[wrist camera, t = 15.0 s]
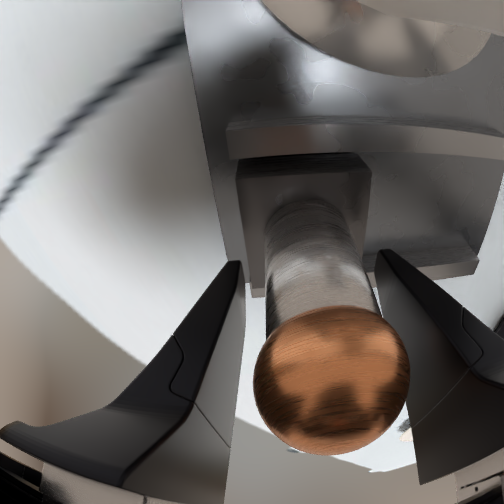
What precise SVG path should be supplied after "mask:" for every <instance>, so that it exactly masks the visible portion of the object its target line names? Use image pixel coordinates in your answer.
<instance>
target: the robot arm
mask: <svg viewBox="0 0 504 504" xmlns="http://www.w3.org/2000/svg"><path fill="white" fill-rule="evenodd" d="M374 276H375V280H376V285H377V290H378V295H379V300H380V305H381V310H382V314H383V318H384V319H385V320H386V321H387V322H388V323H390V325H391V326H392V327H393V328H394V329H395V330H396V332H397V333H398V335H399V336H400V338H401V340H402V341H403V343H404V346H405V348H406V351H407V354H408V358H409V362H410V387H409V391H408V395H407V398H406V406H407V410H408V415H409V420H410V425H411V428H412V429H411V431H412V437H413V443H414V449H415V455H416V461H417V468H418V476H419V482H420V485H423V484H426V483H428V482H431V481H434V480H437V479H439V478H442V477H445V476H447V475H450V474H452V473H454V475H455V482H456V488H457V501H458V503H456V504H504V319H503V320H502V322H501V323H500V325H499V326H498V328H497V329H496V331H495V332H494V331H492V330H491V329H490V328H489V327H487V326H486V325H485V324H483V323H482V322H481V321H480V320H479V319H477V318H476V317H475V316H474V315H473V314H472V313H470V312H469V311H468V310H467V309H466V308H465V307H463V306H462V305H461V304H460V303H459V302H458V301H456V300H455V299H454V298H453V297H452V296H450V295H449V294H448V293H447V292H446V291H444V290H443V289H442V288H441V287H439V286H438V285H437V284H436V283H435V282H433V281H432V280H431V279H430V278H428V277H427V276H426V275H424V274H423V273H422V272H421V271H419V270H418V269H417V268H416V267H414V266H413V265H412V264H410V263H409V262H408V261H406V260H405V259H404V258H402V257H401V256H400V255H398V254H397V253H396V252H394V251H393V250H392V249H380V250H378V252H377V257H376V262H375V267H374ZM245 327H246V305H245V278H244V272H243V266H242V262H241V261H240V260H231V261H228V262H227V263H226V264H225V265H224V267H223V268H222V269H221V271H220V272H219V273H218V275H217V276H216V277H215V279H214V280H213V281H212V282H211V284H210V285H209V286H208V288H207V289H206V290H205V292H204V293H203V294H202V296H201V297H200V298H199V300H198V301H197V302H196V304H195V305H194V306H193V308H192V309H191V310H190V312H189V313H188V314H187V316H186V317H185V318H184V320H183V321H182V322H181V324H180V325H179V326H178V328H177V329H176V330H175V332H174V333H173V335H171V337H170V338H169V339H168V341H167V342H166V343H165V345H164V346H163V347H162V348H161V350H160V351H159V352H158V354H157V355H156V356H155V357H154V358H153V359H152V361H151V362H150V363H149V364H148V365H147V366H146V367H145V368H144V370H143V371H142V372H141V373H140V374H139V375H138V376H137V377H136V378H135V379H134V380H133V381H132V382H131V383H130V385H129V386H128V387H127V388H126V389H125V390H124V391H123V392H122V393H121V394H120V395H119V396H118V397H117V398H116V399H115V400H114V401H112V402H111V403H110V404H108V405H107V406H105V407H103V408H101V409H98V410H95V411H92V412H90V413H87V414H84V415H80V416H78V417H74V418H71V419H68V420H65V421H62V422H59V423H55V424H52V425H48V426H42V427H33V426H29V425H27V424H25V423H23V422H20V421H15V422H12V423H10V424H8V425H6V426H4V427H3V428H2V429H1V430H0V438H1V439H3V440H4V441H6V442H7V443H9V444H11V445H12V446H14V447H16V448H18V449H20V450H21V451H23V452H25V453H27V454H29V455H31V456H33V457H35V458H37V459H39V460H41V461H43V462H44V466H43V471H42V472H40V471H38V470H36V469H34V468H31V467H29V466H27V465H25V464H23V463H21V462H19V461H17V460H15V459H13V458H11V457H9V456H8V455H6V454H4V453H2V452H0V504H224V496H225V489H226V481H227V473H228V466H229V458H230V448H231V441H232V433H233V425H234V418H235V410H236V402H237V393H238V385H239V377H240V369H241V361H242V353H243V345H244V337H245Z"/></svg>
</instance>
